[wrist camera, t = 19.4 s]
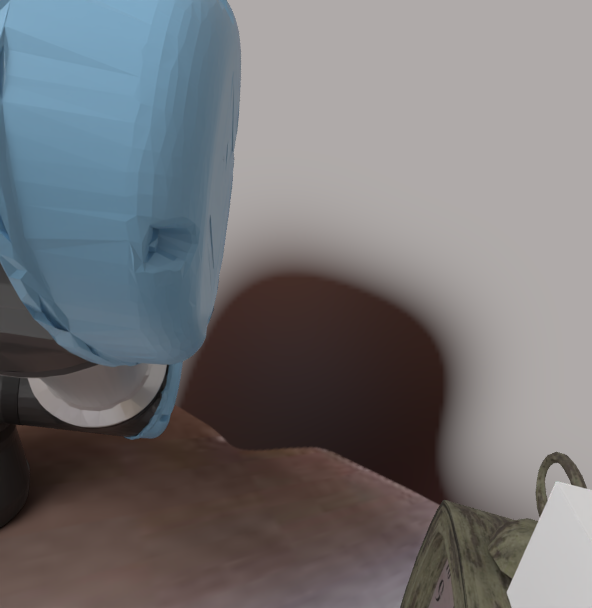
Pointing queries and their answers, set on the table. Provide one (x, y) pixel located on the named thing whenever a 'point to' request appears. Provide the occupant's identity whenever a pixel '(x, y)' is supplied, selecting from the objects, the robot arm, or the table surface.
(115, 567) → the table surface
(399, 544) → the table surface
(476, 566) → the tabletop clock
